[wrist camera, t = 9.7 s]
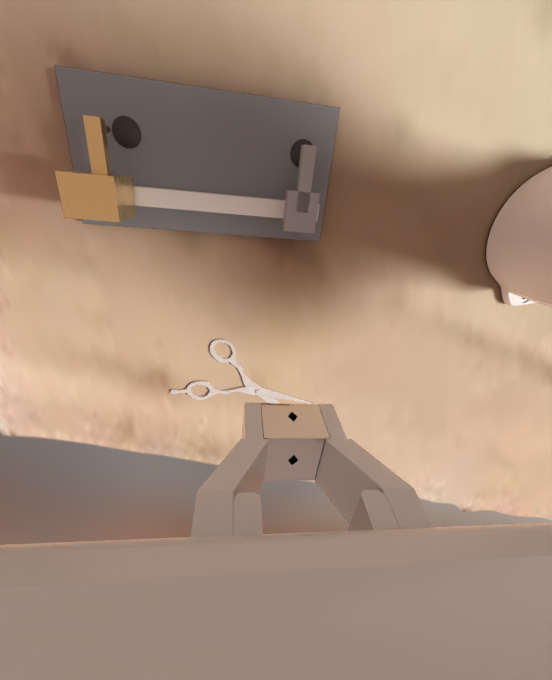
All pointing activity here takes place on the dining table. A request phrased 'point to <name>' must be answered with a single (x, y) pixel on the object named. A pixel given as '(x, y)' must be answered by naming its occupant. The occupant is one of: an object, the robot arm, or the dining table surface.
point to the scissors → (247, 389)
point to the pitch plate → (206, 154)
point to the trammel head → (96, 182)
